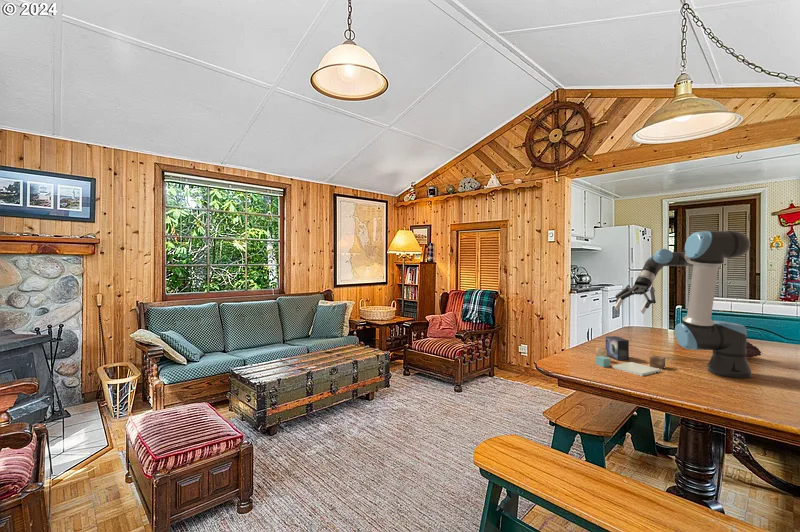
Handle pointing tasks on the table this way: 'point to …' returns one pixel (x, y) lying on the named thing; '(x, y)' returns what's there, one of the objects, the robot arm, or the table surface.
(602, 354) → the oak cylinder
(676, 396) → the table surface
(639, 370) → the tile
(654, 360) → the walnut block
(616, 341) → the small box
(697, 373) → the table surface
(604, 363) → the teal block
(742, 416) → the table surface
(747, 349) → the pine cone
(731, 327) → the robot arm
